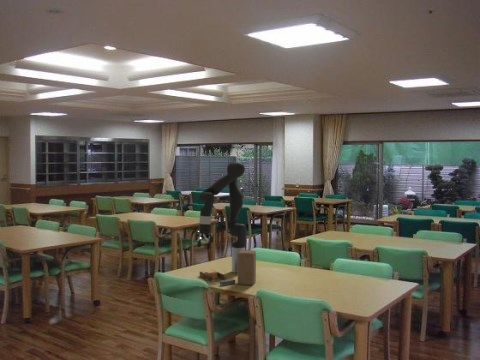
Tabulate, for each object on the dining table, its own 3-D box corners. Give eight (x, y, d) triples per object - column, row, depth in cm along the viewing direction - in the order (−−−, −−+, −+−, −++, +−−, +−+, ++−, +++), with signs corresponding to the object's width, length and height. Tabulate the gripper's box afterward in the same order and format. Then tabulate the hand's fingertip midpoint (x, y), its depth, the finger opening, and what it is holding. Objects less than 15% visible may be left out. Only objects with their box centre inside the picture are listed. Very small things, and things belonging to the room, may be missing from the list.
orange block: (212, 276, 317) (212, 270, 317) (217, 278, 312) (217, 272, 312) (204, 277, 314) (204, 271, 313) (209, 279, 308) (209, 273, 308)
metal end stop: (234, 283, 297) (234, 279, 297) (235, 284, 296) (235, 280, 296) (220, 285, 292) (220, 281, 292) (221, 286, 291) (221, 282, 290)
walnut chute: (212, 274, 321) (212, 269, 321) (224, 279, 307) (224, 274, 307) (199, 276, 316) (199, 271, 316) (210, 281, 302) (210, 276, 302)
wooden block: (253, 285, 292) (253, 253, 291) (237, 284, 294) (237, 252, 293) (256, 281, 301) (256, 250, 301) (240, 281, 303) (240, 249, 303)
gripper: (217, 224, 306) (215, 249, 306) (201, 221, 315) (200, 246, 315) (208, 224, 300) (207, 250, 300) (193, 222, 310) (191, 247, 310)
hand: (203, 248), depth 308 cm, fingers open, 8 cm apart
